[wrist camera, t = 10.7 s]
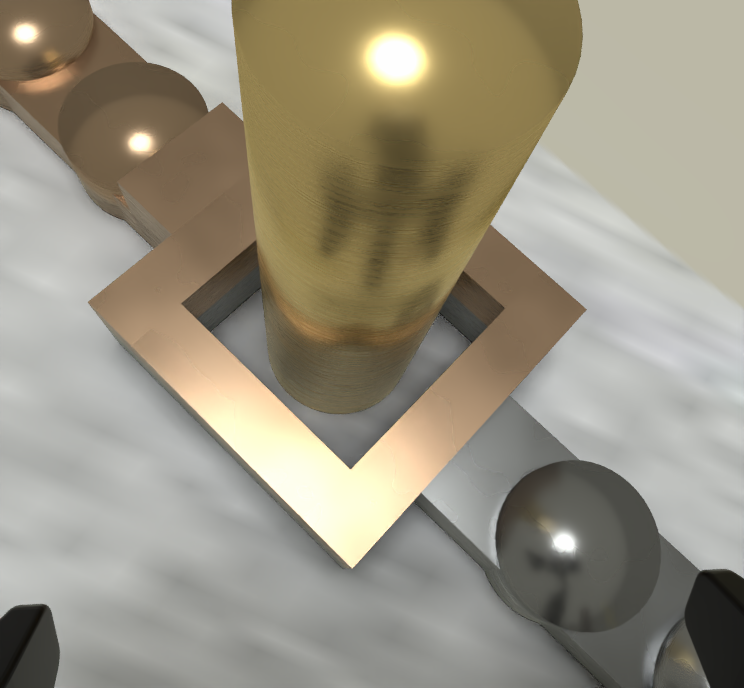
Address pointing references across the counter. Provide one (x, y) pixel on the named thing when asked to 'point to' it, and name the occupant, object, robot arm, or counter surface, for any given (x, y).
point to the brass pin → (383, 166)
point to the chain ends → (420, 422)
